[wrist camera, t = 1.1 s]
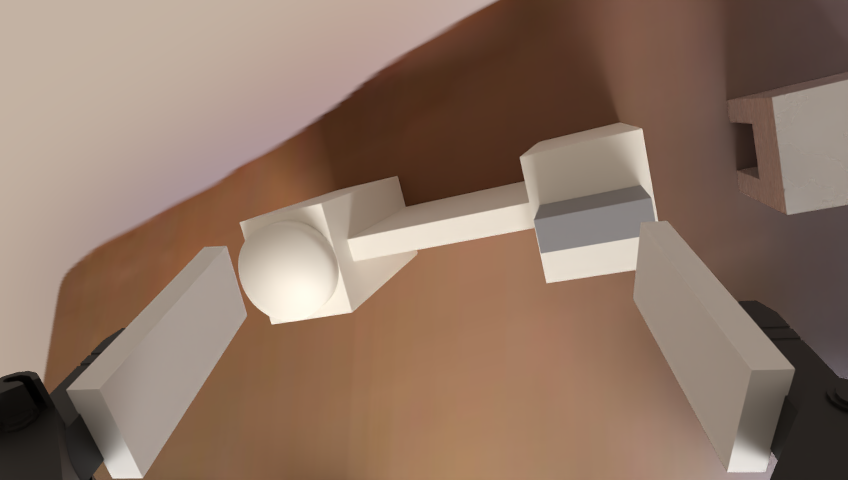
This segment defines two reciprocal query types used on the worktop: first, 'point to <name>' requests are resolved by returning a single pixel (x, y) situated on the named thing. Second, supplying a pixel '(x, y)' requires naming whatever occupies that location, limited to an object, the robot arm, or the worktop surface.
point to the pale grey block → (797, 144)
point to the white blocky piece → (453, 225)
